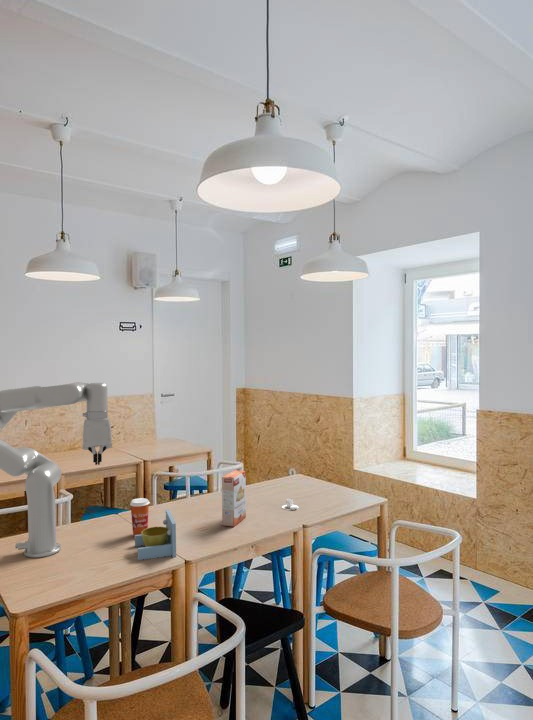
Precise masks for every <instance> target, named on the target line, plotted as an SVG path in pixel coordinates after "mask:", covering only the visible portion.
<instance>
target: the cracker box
mask: <svg viewBox="0 0 533 720" xmlns="http://www.w3.org/2000/svg"><path fill="white" fill-rule="evenodd" d="M246 474H247V473H246V470H235V469H234V470H233V471H231V472H229V473H226V474H225V475H224V476H222V477H221V494H222V495H221V496H222V497H221V498H222V500H221V501H222V502H221V506H222V507H221V515H222V516H221V520H222V522H221V523H222V524H221V525H222V527H224V526H225V527H236V525H238V524H239V523H240V522H242V521H243V520H244V519H246V516H247V515H246V514H247V511H246V510H247V505H246V504H247V501H246V500H247V499H246V498H247V497H246V495H247V494H246V493H247V491H246V490H247V489H246V488H247V487H246V486H247V485H246V483H247V479H246V477H247V475H246Z"/></svg>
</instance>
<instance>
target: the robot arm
mask: <svg viewBox="0 0 533 720" xmlns="http://www.w3.org/2000/svg"><path fill="white" fill-rule="evenodd" d="M82 402H86V412H82V417H83V418H84V417H85V418H86V419H84V421H83V426H82V427H83V429H82V447H81V449H82V450H86V451H89V452H90V453H91V454H92V457H93V458H92V459H93V461H92V462H93V463H95V464H94V465H95V466H97V465H100V464H101V463H102V459H103V458H102V457H103V456H102V454H103V453H104V452H105V451H106V450H108V449H111V448H112V447H113V444H112V438H113V437H112V424H111V420H110V418H108V417H109V415H108V385H107V383H104V382H91V383H89V382H87V383H86V382H81V381H79V382H76V381H75V382H72V383H66V384H59V385H50V386H40V385H36V386H27V387H20V388H19V387H18V388H10V389H9V388H8V389H4V390H3V389H2V390H0V431H2V430H3V429H4V428H5V427H6V426H7V425H8V424H9V422H10V421H11V420H12V419H13V418H14V416H15V415H16V414H17V413H18V412H23V411H30V410H31V411H32V410H40V409H44V408H53V407H61V406H69V405H75V404H77V403H82ZM97 447H99V450H98V452H97V449H96V448H97ZM0 470H1V471H3V472H4V473H6V474H8V475H9V476H11V477H21V476H23V475H24V474H25V475H27V476H26V479H25V483H24V484H25V485H24V487H25V492H26V499H27V500H26V501H27V523H28V525H27V531H28V534H27V535H28V540H25V541H23V542H16V543H15V549H18V550H19V551H20V550H24V551H23V554H24V556H25V557H28V558H43V557H44V558H45V557H48V556H51V555H54V554H56V553H58V552H59V551H61V549H62V546H61V544H60V543H59V542H57V516H56V515H57V512H56V509H57V508H56V494H55V490H54V486H55V485H56V484H58V483H59V482H60V481H61V478H62V470H61V467H60V466H59V465H58V463H56V462H54V460H51V459H50V458H48V457H47V456H45V455H44V454H42V453H41V452H39V451H37V449H36V450H35V449H34V448H31V447H29V446H21V447H18V448H17V447H13V446H12V445H10V444H9V443H7V442H6V441H5V440H2V439H0Z"/></svg>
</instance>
